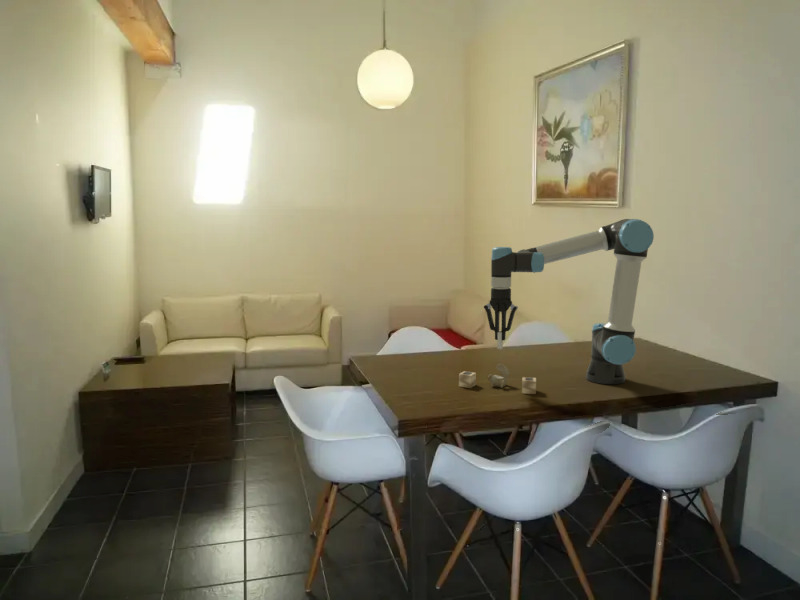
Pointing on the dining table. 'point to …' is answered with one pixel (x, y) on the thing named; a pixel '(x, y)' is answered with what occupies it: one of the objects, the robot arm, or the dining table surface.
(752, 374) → the dining table surface
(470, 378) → the marked cube 1
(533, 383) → the marked cube 2
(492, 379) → the white irregular piece
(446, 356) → the dining table surface
